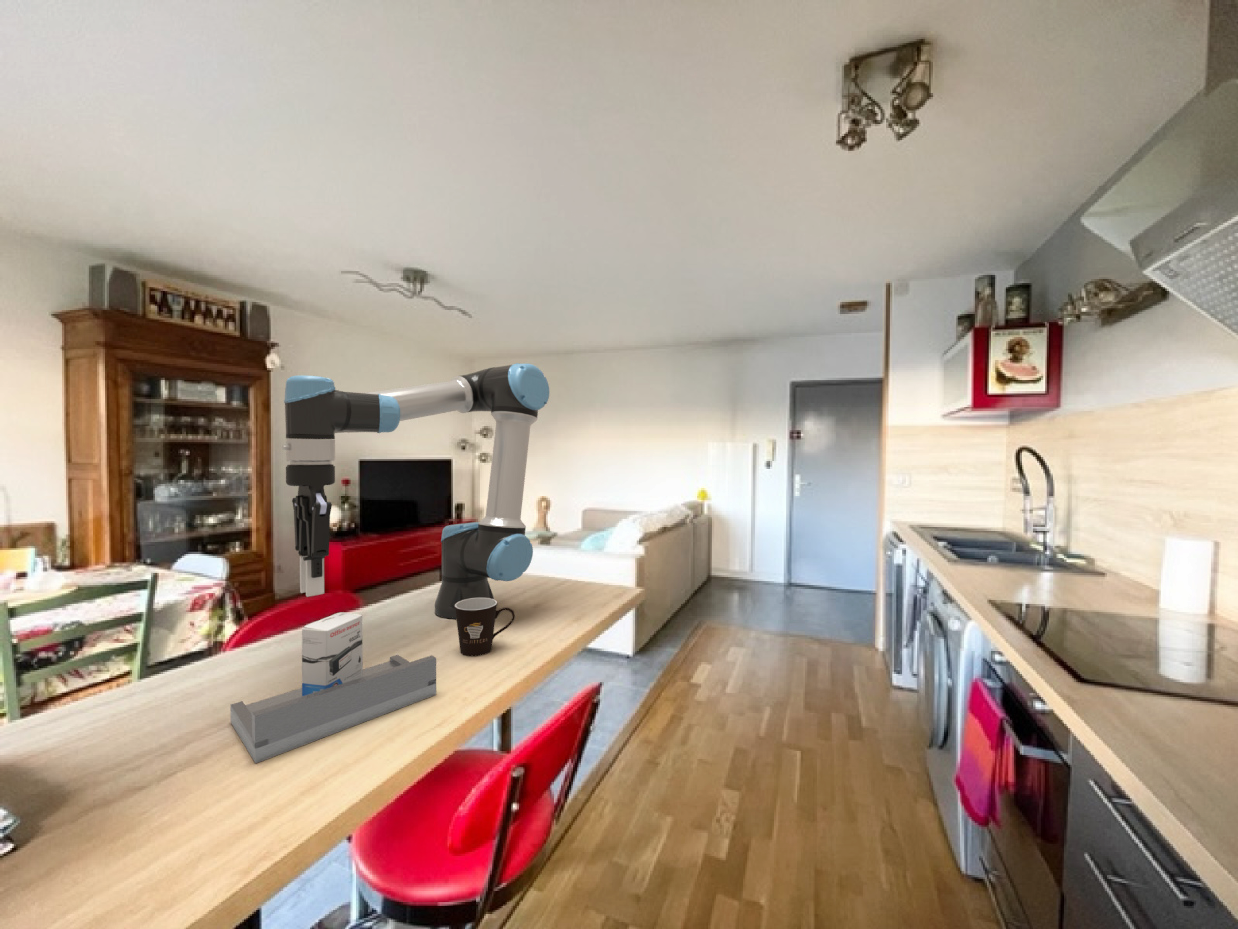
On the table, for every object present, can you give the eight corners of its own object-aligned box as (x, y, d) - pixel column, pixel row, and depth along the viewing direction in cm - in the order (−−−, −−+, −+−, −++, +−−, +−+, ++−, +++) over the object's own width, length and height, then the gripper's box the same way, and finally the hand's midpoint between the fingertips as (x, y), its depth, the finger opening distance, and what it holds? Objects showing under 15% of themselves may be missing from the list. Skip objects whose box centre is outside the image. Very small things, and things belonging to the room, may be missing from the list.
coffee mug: (446, 656, 103) (446, 608, 103) (468, 640, 111) (468, 596, 111) (498, 662, 100) (498, 613, 100) (516, 646, 109) (516, 600, 108)
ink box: (326, 703, 80) (326, 630, 79) (300, 700, 81) (299, 627, 80) (364, 679, 88) (364, 613, 88) (340, 676, 89) (339, 611, 89)
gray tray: (397, 668, 97) (397, 635, 97) (436, 694, 87) (436, 657, 87) (230, 722, 78) (230, 681, 77) (255, 763, 67) (254, 716, 67)
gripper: (273, 462, 92) (275, 588, 93) (300, 464, 82) (302, 607, 82) (319, 461, 98) (320, 581, 98) (349, 463, 87) (350, 597, 88)
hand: (312, 592), depth 90 cm, fingers open, 3 cm apart
